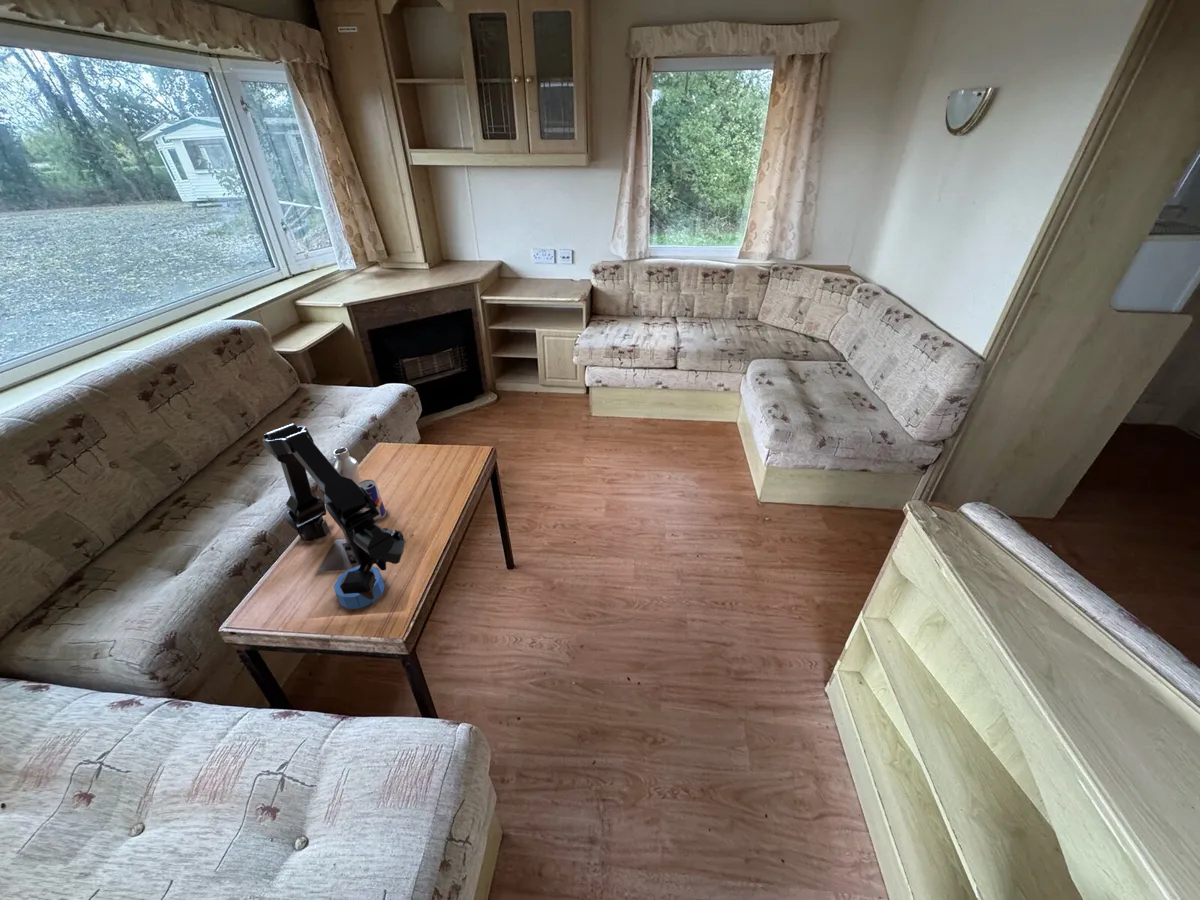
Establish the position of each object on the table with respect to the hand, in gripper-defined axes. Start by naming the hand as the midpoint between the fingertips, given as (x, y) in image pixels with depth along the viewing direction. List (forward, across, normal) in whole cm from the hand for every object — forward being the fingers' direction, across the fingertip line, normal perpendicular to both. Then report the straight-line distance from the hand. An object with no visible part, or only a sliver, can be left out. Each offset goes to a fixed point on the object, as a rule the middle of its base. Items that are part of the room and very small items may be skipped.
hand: (378, 583), depth 116 cm
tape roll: (+3, 0, +4) cm, 6 cm away
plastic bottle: (+3, +36, +18) cm, 40 cm away
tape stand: (+3, +14, +12) cm, 19 cm away
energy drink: (+3, +30, +10) cm, 32 cm away
